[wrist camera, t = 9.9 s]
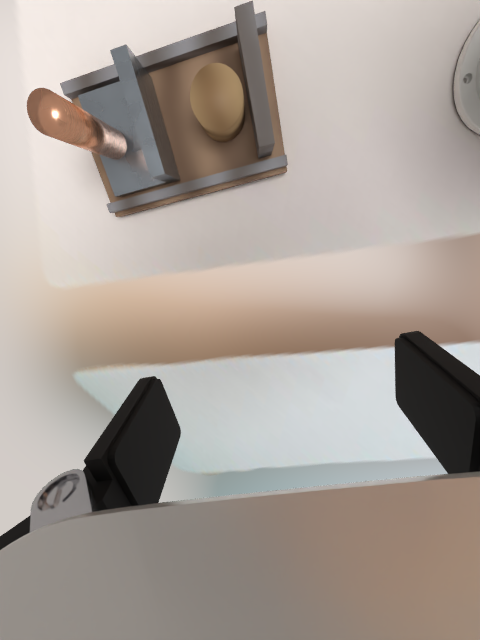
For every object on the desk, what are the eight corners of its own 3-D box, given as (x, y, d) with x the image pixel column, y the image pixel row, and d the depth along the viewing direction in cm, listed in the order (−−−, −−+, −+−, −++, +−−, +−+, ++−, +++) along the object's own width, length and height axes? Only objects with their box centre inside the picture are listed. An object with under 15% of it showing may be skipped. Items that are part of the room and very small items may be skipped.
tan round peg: (239, 80, 28) (236, 54, 23) (249, 135, 30) (248, 121, 25) (194, 94, 29) (183, 72, 24) (207, 147, 31) (198, 136, 26)
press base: (263, 22, 27) (266, -41, 20) (285, 172, 32) (294, 162, 25) (73, 88, 30) (20, 52, 23) (121, 216, 35) (89, 217, 28)
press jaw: (151, 77, 28) (88, -4, 18) (180, 180, 32) (143, 164, 21) (84, 99, 29) (-13, 36, 19) (119, 197, 33) (55, 190, 22)
